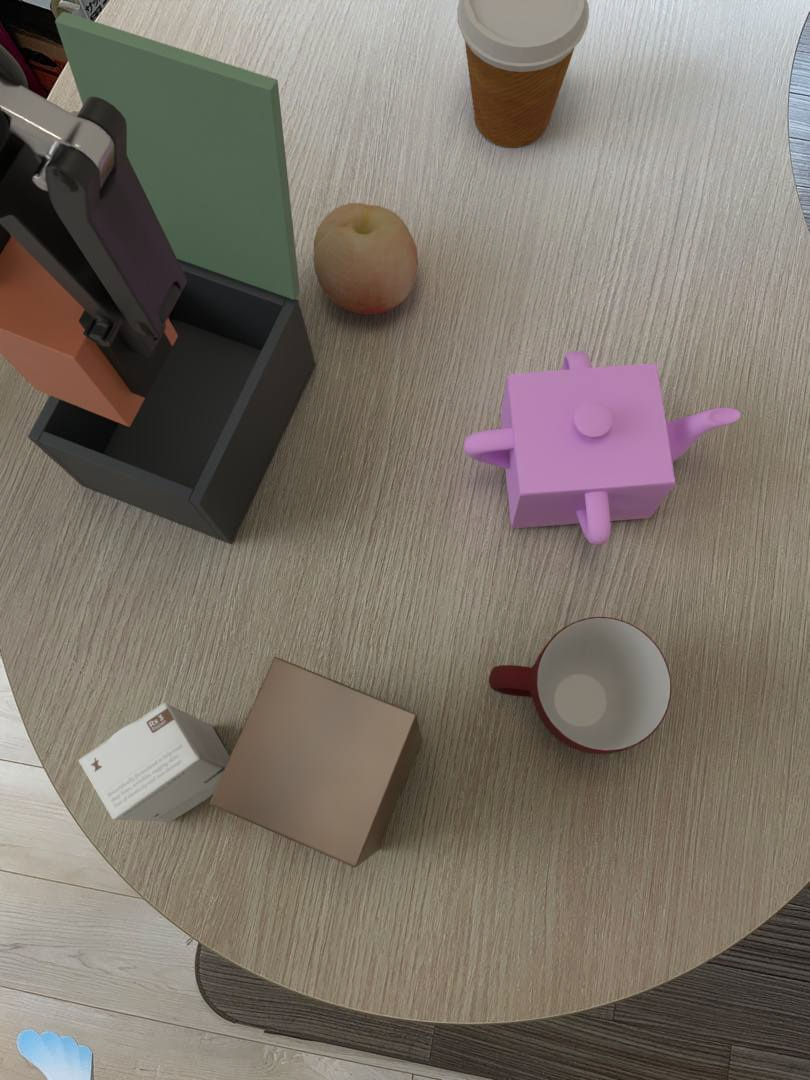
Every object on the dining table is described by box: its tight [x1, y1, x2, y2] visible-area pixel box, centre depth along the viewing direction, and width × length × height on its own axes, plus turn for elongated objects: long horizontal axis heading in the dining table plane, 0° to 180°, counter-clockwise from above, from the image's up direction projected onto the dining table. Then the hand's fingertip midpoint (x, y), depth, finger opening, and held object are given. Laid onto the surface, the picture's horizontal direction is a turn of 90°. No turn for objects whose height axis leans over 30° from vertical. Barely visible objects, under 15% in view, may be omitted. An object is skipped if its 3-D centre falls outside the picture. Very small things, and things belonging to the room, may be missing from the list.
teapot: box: [463, 350, 741, 546], centre depth 65 cm, size 18×14×10 cm
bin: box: [27, 259, 317, 545], centre depth 67 cm, size 16×13×10 cm
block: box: [0, 235, 178, 427], centre depth 41 cm, size 5×5×7 cm
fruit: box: [313, 202, 419, 315], centre depth 71 cm, size 8×8×8 cm
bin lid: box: [54, 11, 301, 300], centre depth 57 cm, size 16×13×1 cm
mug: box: [488, 616, 672, 755], centre depth 61 cm, size 10×8×10 cm
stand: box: [209, 656, 423, 868], centre depth 56 cm, size 8×8×18 cm
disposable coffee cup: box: [456, 0, 590, 148], centre depth 73 cm, size 10×10×12 cm
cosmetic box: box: [78, 701, 231, 823], centre depth 59 cm, size 6×4×12 cm
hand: (95, 347), depth 43 cm, fingers closed on block, 5 cm apart
